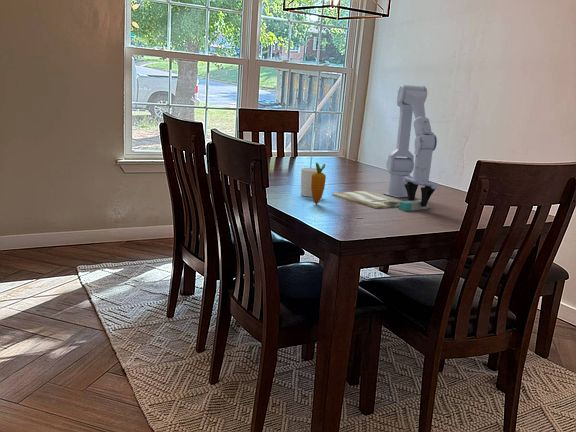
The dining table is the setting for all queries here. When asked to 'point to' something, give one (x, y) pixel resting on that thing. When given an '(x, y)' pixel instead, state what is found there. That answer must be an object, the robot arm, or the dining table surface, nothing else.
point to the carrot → (318, 183)
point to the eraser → (412, 205)
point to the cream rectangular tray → (369, 199)
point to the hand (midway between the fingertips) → (417, 204)
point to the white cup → (307, 181)
